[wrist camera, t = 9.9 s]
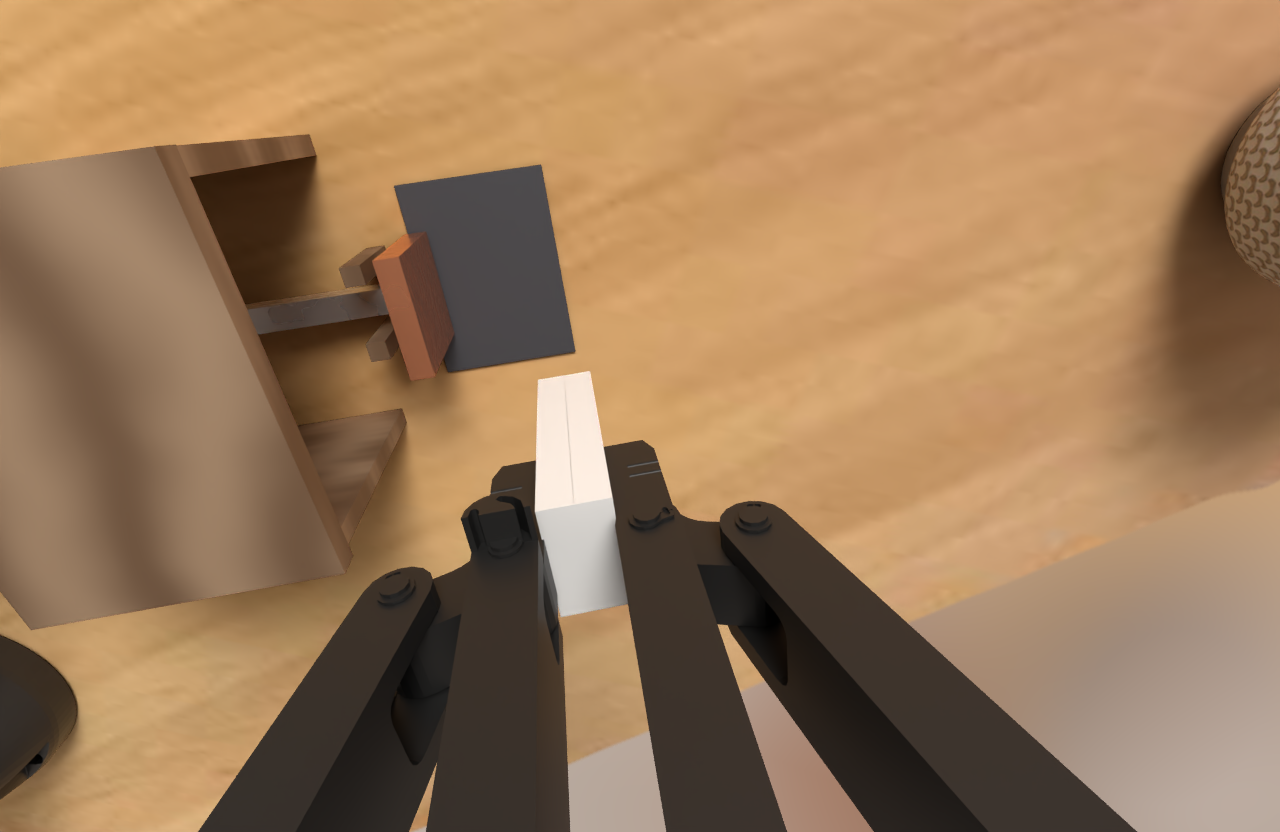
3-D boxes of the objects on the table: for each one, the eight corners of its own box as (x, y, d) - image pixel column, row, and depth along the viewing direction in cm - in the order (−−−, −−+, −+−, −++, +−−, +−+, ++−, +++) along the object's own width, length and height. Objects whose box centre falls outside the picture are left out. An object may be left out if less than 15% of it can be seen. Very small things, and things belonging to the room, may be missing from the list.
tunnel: (207, 455, 39) (30, 630, 26) (58, 168, 31) (-304, 209, 18) (437, 417, 39) (380, 567, 26) (348, 129, 32) (204, 139, 19)
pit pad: (448, 371, 38) (448, 372, 38) (394, 185, 33) (394, 186, 33) (575, 350, 39) (575, 351, 38) (540, 164, 34) (541, 164, 33)
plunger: (97, 415, 36) (6, 476, 30) (7, 263, 32) (-120, 298, 26) (460, 356, 37) (442, 403, 31) (418, 203, 33) (388, 223, 27)
